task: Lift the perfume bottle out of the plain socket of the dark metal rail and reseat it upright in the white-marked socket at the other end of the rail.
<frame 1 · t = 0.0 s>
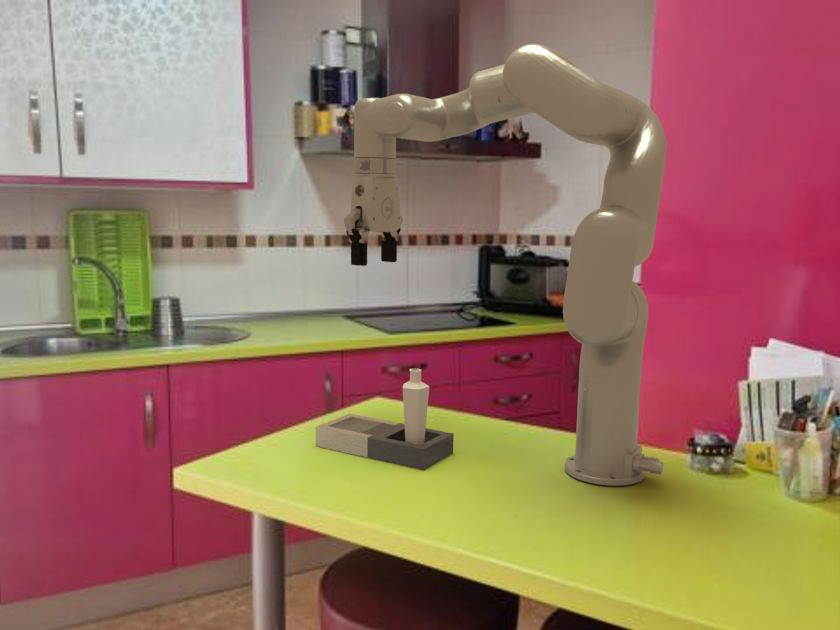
hand: (374, 263, 142), 31 cm above the counter, fingers open, 9 cm apart
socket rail: (383, 449, 134), on the counter
perfume bottle: (413, 457, 131), resting in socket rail
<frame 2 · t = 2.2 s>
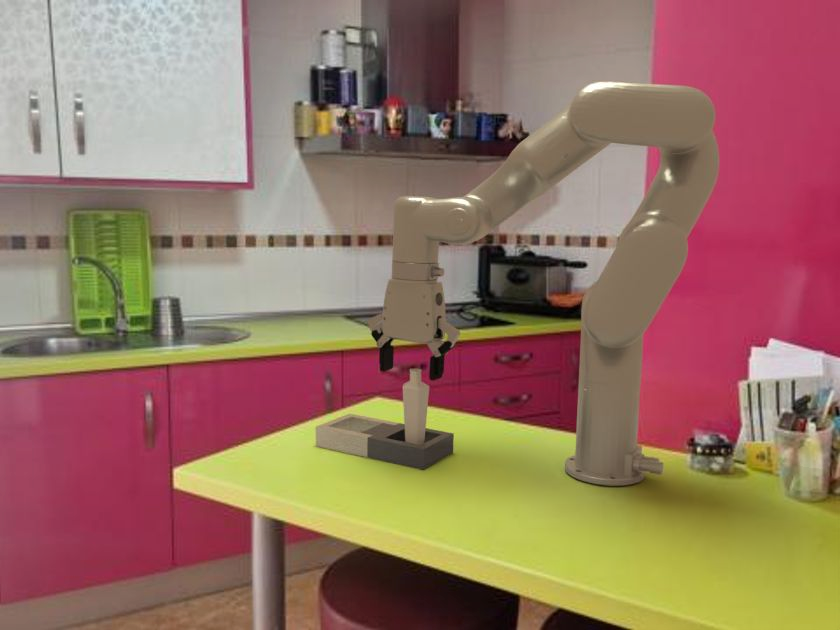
hand: (410, 374, 129), 14 cm above the counter, fingers open, 9 cm apart
nothing on the counter moved.
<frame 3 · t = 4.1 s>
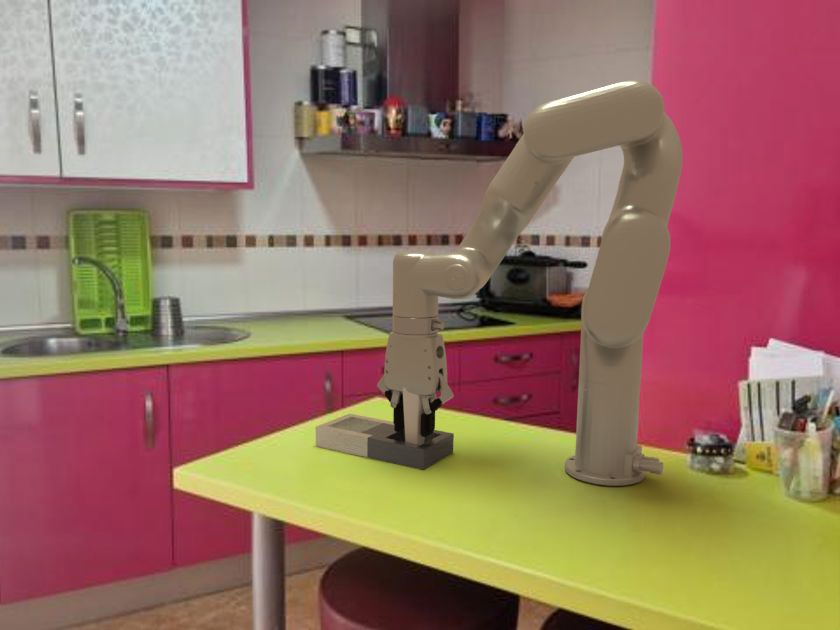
hand: (413, 431, 130), 4 cm above the counter, fingers closed on perfume bottle, 4 cm apart
perfume bottle: (413, 457, 131), resting in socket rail, touching gripper
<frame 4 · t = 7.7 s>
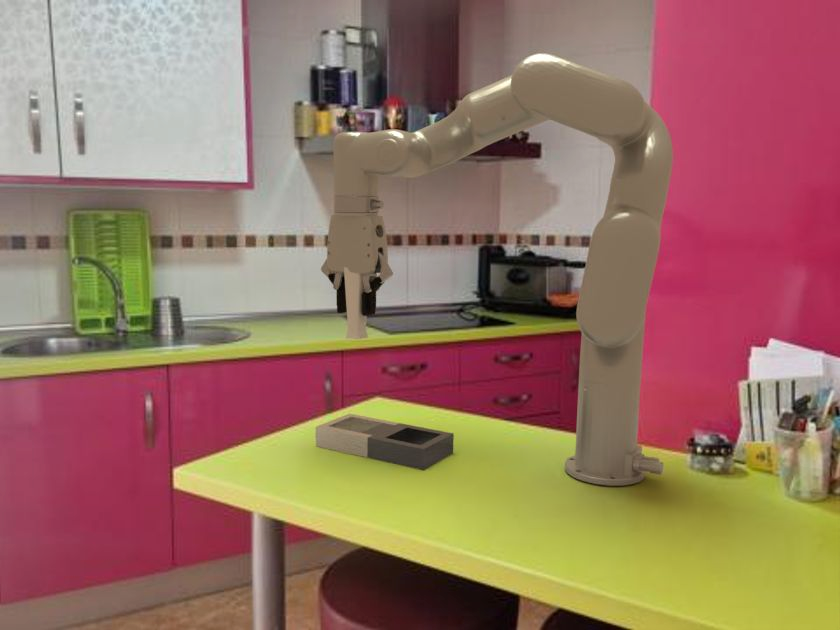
hand: (356, 312, 133), 24 cm above the counter, fingers closed on perfume bottle, 4 cm apart
perfume bottle: (355, 338, 134), point 19 cm above the counter, touching gripper
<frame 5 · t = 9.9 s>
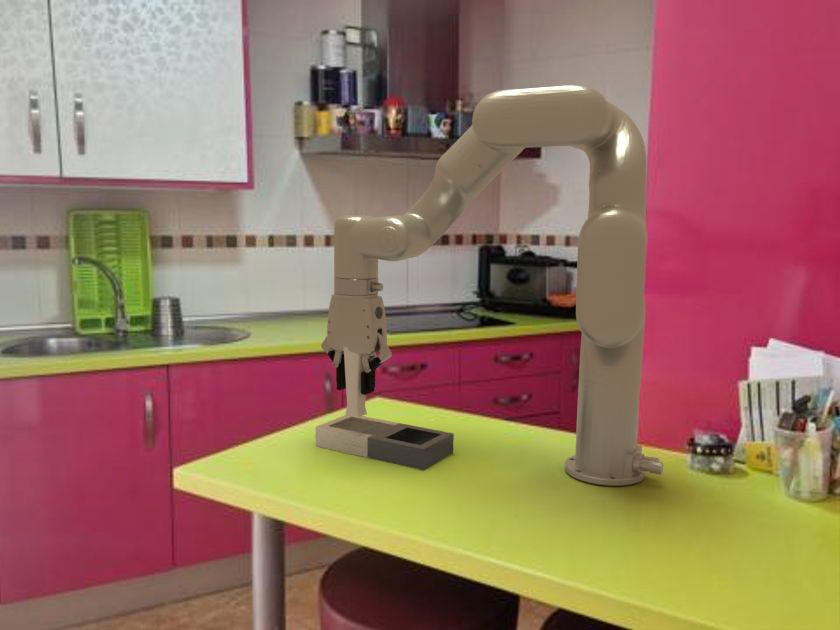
hand: (355, 389, 136), 10 cm above the counter, fingers closed on perfume bottle, 4 cm apart
perfume bottle: (354, 414, 136), point 5 cm above the counter, touching gripper
when the fingers open (6 cm above the counter, at t = 11.5 s): perfume bottle drops 2 cm, resting in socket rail.
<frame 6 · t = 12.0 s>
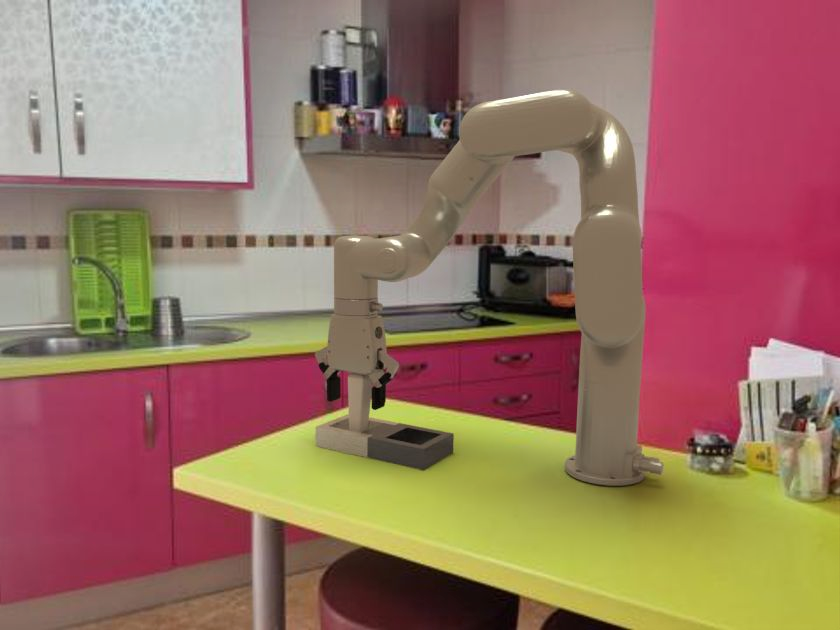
hand: (355, 403, 136), 7 cm above the counter, fingers open, 9 cm apart
perfume bottle: (356, 444, 137), resting in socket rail
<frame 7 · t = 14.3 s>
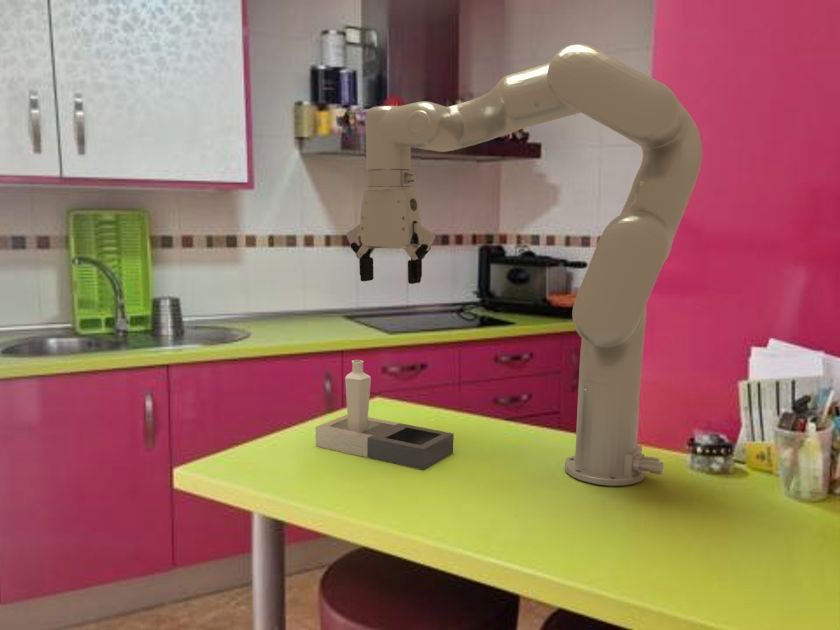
hand: (390, 281, 134), 29 cm above the counter, fingers open, 9 cm apart
nothing on the counter moved.
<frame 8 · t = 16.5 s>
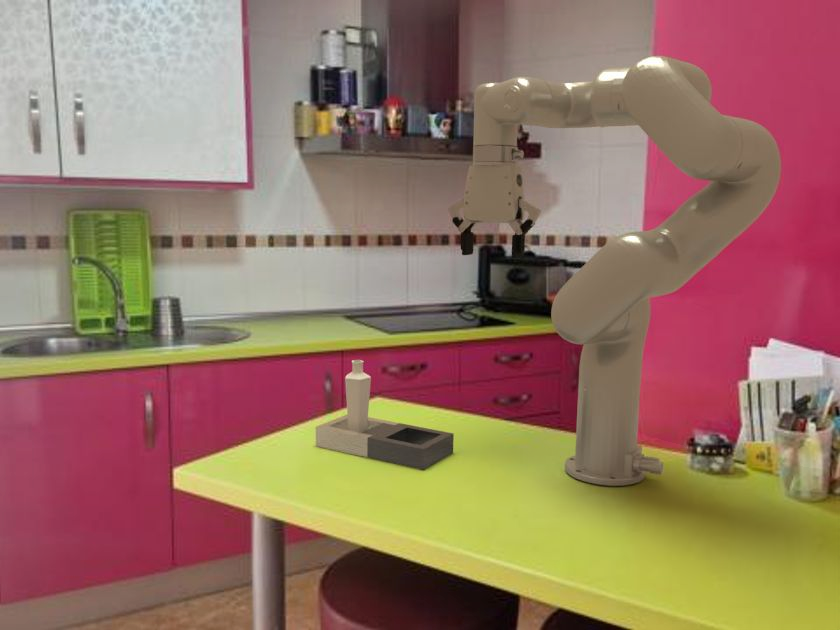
hand: (491, 256, 136), 33 cm above the counter, fingers open, 9 cm apart
nothing on the counter moved.
at the end: perfume bottle 0.1 cm from the target spot on the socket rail, point 0.0 cm above the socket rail's base; perfume bottle tilted 0°; the gripper is holding nothing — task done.
